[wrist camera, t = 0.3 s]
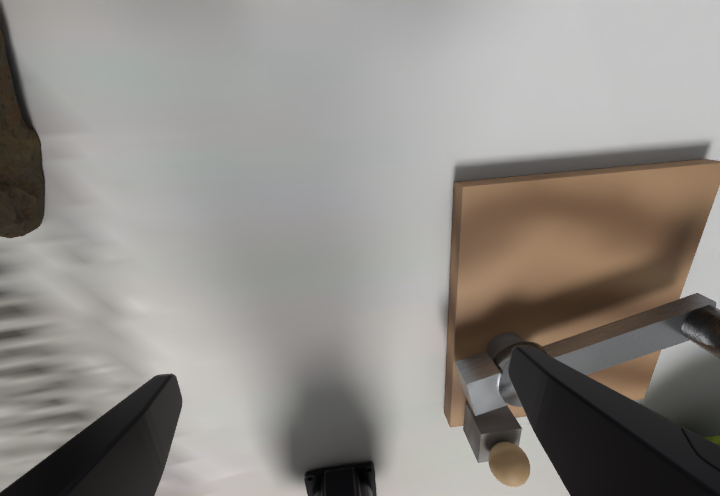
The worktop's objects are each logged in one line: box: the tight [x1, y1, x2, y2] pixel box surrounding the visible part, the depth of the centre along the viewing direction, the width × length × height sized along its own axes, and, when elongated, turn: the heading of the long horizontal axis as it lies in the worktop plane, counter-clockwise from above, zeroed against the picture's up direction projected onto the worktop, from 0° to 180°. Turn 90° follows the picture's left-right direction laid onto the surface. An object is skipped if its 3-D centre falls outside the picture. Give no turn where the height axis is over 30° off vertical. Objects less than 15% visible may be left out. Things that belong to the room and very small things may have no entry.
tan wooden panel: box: [444, 159, 720, 487], centre depth 24 cm, size 22×18×7 cm
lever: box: [455, 293, 720, 416], centre depth 21 cm, size 18×4×8 cm, turn 109°
